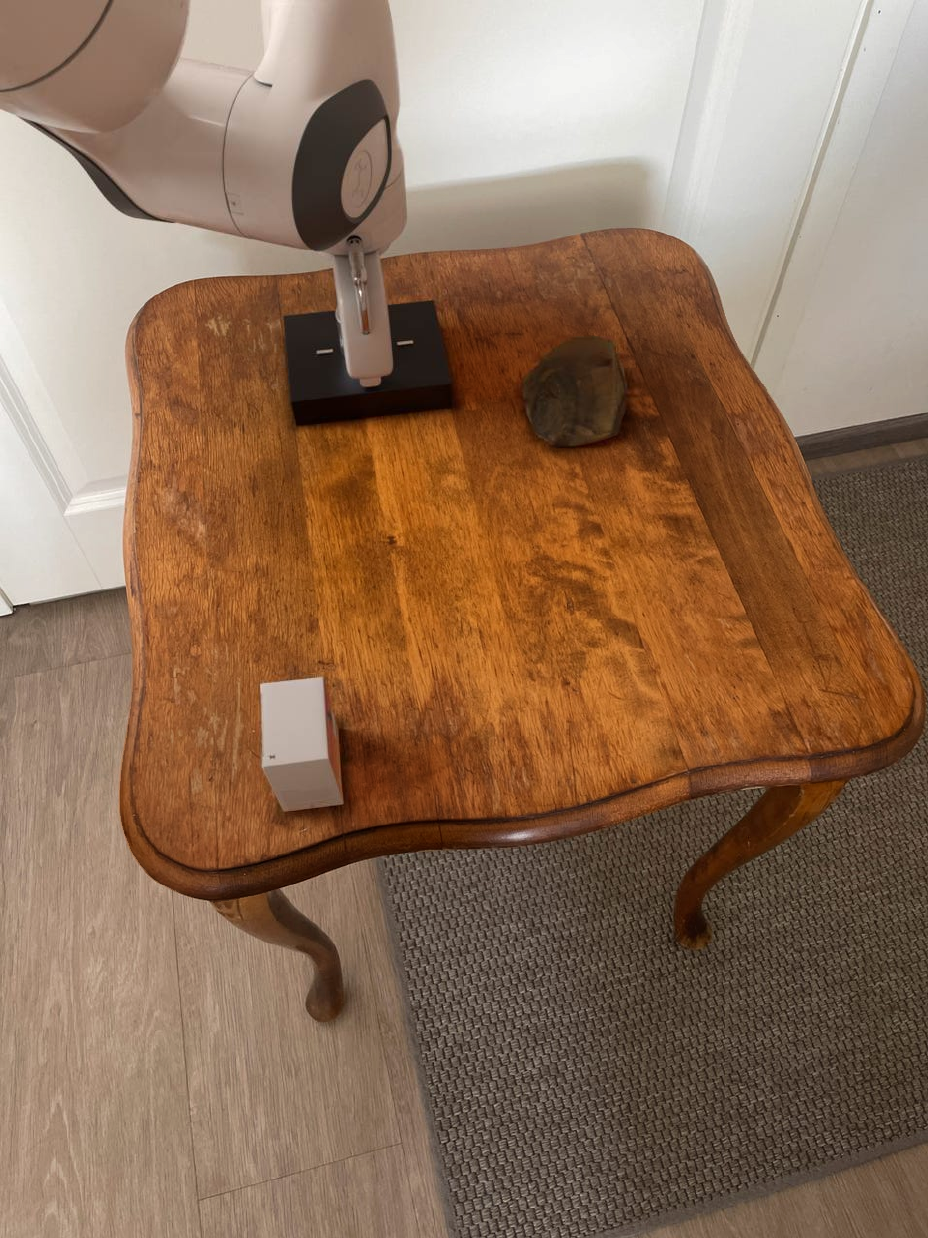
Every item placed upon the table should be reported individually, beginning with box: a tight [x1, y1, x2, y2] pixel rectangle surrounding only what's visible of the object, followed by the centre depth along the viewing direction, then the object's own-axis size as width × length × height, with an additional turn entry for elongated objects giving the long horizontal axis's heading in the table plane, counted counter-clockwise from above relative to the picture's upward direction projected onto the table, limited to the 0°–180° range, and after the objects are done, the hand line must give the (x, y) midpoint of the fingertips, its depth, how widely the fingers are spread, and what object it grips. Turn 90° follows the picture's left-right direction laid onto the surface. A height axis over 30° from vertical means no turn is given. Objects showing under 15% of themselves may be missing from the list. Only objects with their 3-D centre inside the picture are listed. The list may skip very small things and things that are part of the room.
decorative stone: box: [521, 335, 628, 448], centre depth 80 cm, size 10×9×4 cm
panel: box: [282, 299, 453, 427], centre depth 82 cm, size 14×11×3 cm
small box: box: [259, 676, 345, 813], centre depth 60 cm, size 6×4×8 cm
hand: (364, 342), depth 80 cm, fingers open, 8 cm apart
